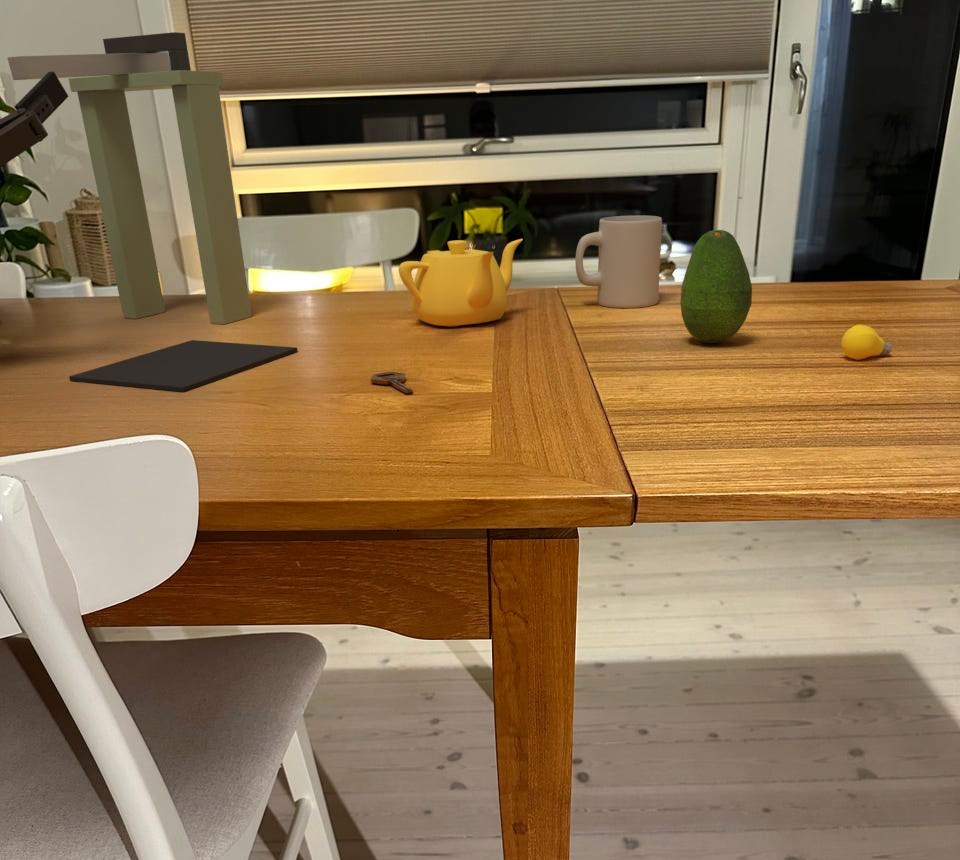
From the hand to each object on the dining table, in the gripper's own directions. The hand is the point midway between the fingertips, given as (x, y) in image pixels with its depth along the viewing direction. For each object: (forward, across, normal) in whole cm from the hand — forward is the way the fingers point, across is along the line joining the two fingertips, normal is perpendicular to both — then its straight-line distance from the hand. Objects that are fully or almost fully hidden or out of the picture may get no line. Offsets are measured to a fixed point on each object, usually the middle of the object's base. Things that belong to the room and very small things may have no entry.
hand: (15, 86), depth 107 cm
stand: (+4, 0, -35) cm, 35 cm away
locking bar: (+12, 0, -5) cm, 13 cm away
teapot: (+11, +41, -39) cm, 58 cm away
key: (-18, +50, -22) cm, 58 cm away
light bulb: (+4, +92, -35) cm, 99 cm away
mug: (+26, +56, -48) cm, 78 cm away
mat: (-18, +22, -23) cm, 36 cm away
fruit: (+7, +75, -37) cm, 84 cm away
